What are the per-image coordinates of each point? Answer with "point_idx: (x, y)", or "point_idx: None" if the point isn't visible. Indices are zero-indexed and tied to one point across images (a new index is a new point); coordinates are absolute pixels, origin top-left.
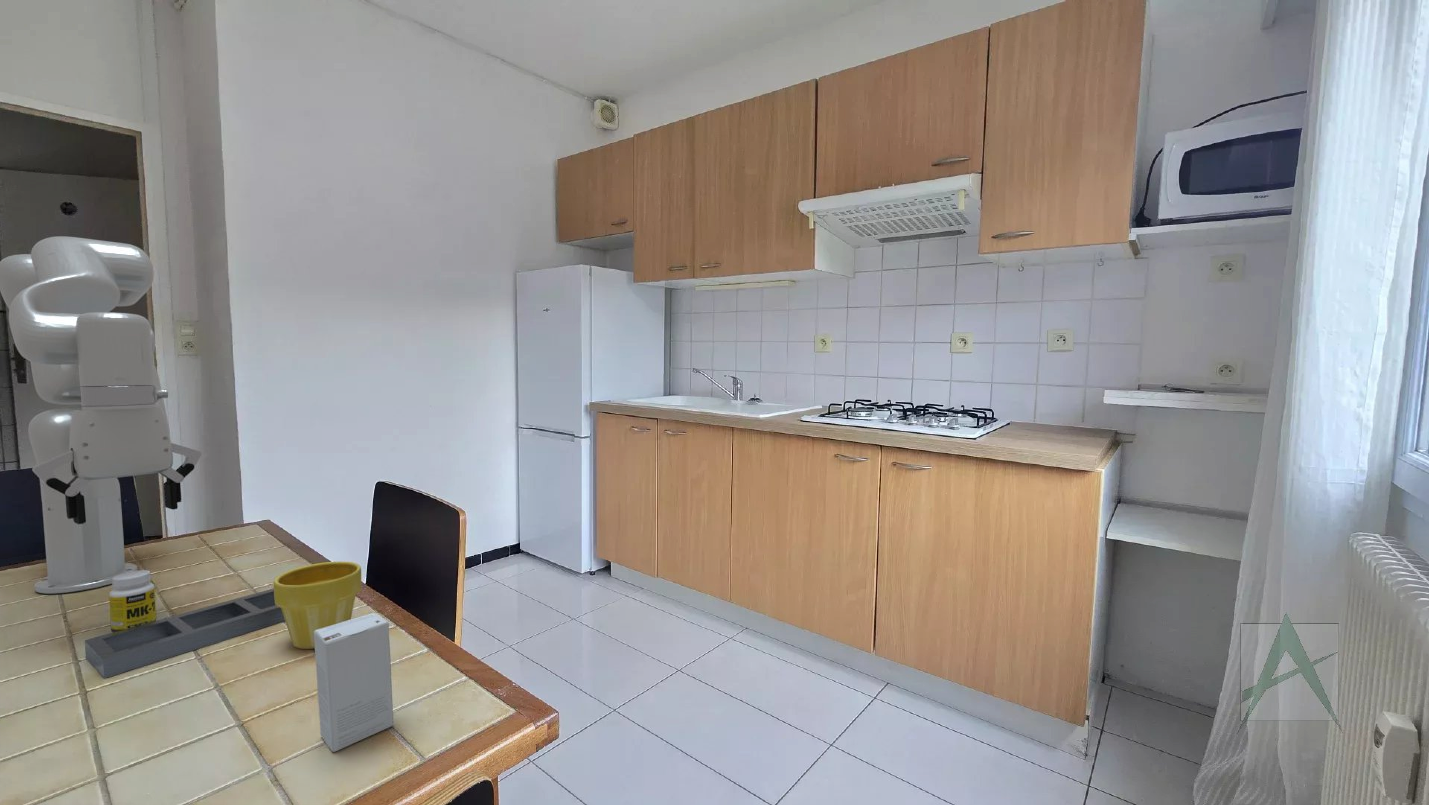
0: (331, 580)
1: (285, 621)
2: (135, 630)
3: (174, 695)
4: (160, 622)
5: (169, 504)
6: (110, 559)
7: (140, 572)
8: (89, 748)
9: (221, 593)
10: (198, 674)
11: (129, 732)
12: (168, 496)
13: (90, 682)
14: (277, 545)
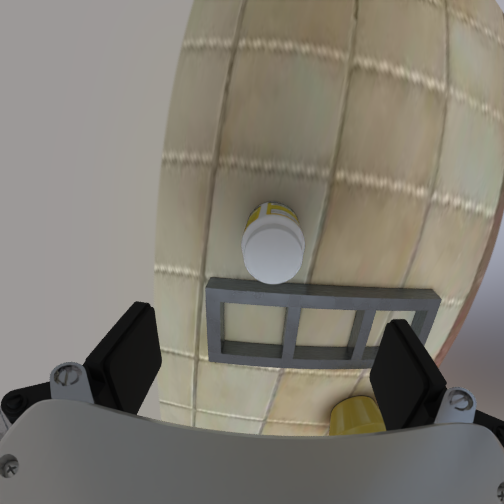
0: None
1: (333, 425)
2: (253, 303)
3: (241, 411)
4: (281, 306)
5: (376, 375)
6: None
7: (288, 257)
8: (191, 423)
9: (401, 173)
10: (265, 398)
11: (209, 426)
12: (386, 390)
13: (203, 344)
14: (501, 35)
